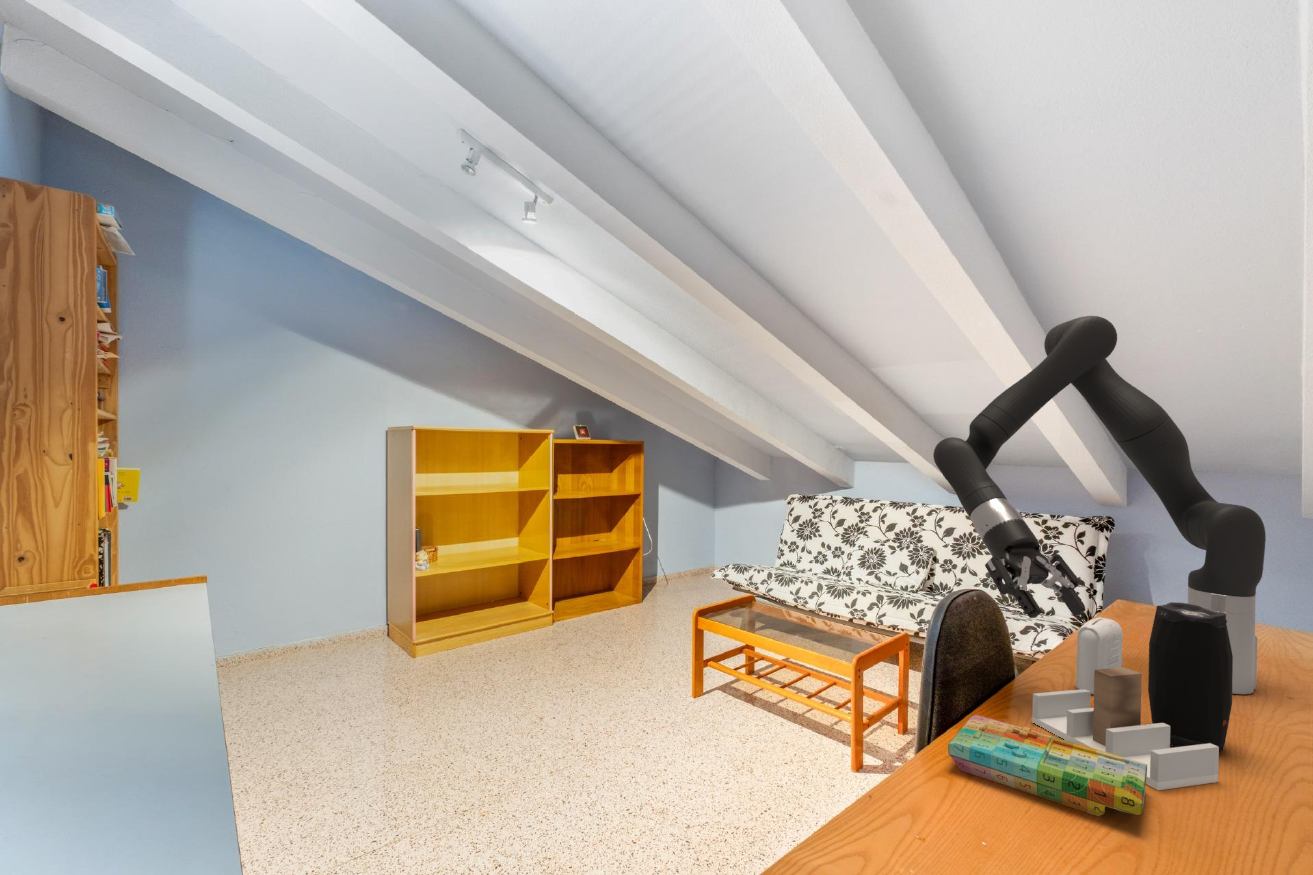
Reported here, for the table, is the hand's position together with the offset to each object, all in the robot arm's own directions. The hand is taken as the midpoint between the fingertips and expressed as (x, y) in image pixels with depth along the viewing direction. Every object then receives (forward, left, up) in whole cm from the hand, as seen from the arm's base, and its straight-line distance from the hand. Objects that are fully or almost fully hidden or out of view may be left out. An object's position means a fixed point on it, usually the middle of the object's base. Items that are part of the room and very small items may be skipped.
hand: (1058, 614), depth 98 cm
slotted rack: (0, +10, -16) cm, 19 cm away
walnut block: (0, +10, -15) cm, 18 cm away
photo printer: (-19, -9, -17) cm, 27 cm away
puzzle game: (+17, +15, -17) cm, 28 cm away
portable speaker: (-13, +10, -17) cm, 23 cm away
